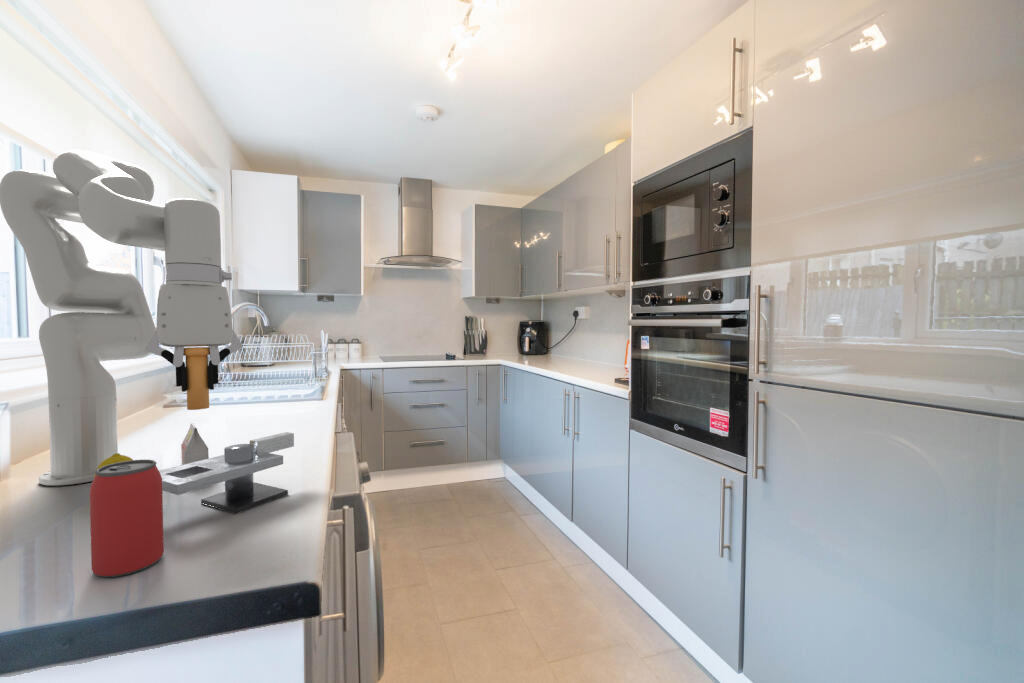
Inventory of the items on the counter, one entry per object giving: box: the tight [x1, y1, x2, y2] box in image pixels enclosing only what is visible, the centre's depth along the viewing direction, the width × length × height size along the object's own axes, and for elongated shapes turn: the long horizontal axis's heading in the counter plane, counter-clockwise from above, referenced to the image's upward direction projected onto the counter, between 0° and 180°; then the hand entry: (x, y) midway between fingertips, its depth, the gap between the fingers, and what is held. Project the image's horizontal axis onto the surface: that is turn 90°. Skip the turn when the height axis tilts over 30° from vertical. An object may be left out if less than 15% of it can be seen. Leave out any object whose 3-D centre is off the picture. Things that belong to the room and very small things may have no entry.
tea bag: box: [180, 422, 210, 465], centre depth 87 cm, size 4×7×10 cm, turn 40°
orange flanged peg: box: [183, 346, 210, 411], centre depth 75 cm, size 4×4×10 cm
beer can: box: [89, 459, 165, 578], centre depth 54 cm, size 7×7×12 cm
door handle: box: [159, 431, 295, 515], centre depth 73 cm, size 10×21×9 cm, turn 153°
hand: (197, 388), depth 75 cm, fingers closed on orange flanged peg, 3 cm apart
